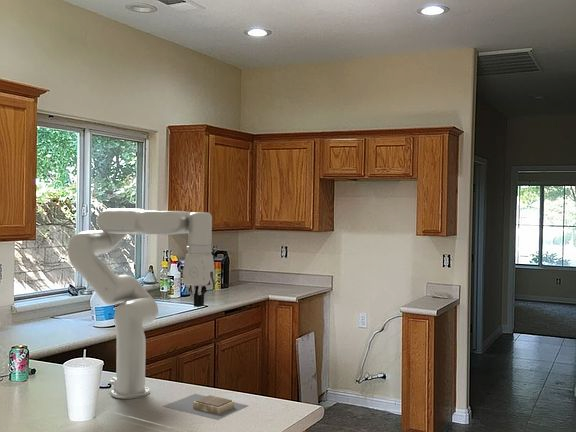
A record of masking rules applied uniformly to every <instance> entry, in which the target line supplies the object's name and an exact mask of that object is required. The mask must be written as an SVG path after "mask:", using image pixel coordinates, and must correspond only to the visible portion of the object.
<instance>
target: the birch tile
mask: <svg viewBox="0 0 576 432" xmlns="http://www.w3.org/2000/svg"><path fill="white" fill-rule="evenodd" d="M205 396H206V395H205ZM234 402H235V400H232V399H228V398H223V397H218V396H215V395H211V394H208V395H207V396H206V397H204V398H201V399H199V400H196V401H194V402H193V408H194V409H198V410H203V411H207V412H211V413H215V414H220V413H222V412H225V411H227V410H229V409H231V408H234Z"/></svg>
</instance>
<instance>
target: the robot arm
mask: <svg viewBox="0 0 576 432" xmlns="http://www.w3.org/2000/svg"><path fill="white" fill-rule="evenodd" d="M96 225H97V226H98V228H99V230H85V231H80V232H77V233H75V234H74V235H73V236H72V237H71V238H70V240H69V241H68V246H67V255H68V260H69V261H70V263H71V265H72V266H73V268H74V269H75V271H77V272H78V273H79V275H80V276H81V277H82V278H83V279H84V280H85V282H87V284H88V285H89V286H90V288H91V289H92V290H93V291H94V292H95V293H96V295H97V296H98V297H99V298H100V299H101V301H102V302H104V304H107V305H110V306H111V305H113V306H114V305H117V304H118V306H117V307H116V309H115V311H114V314H113V320H114V326H115V334H116V335H115V336H116V371H115V373H116V374H115V377H114V376H113V377H112V379H110V380H109V382H108V383H109V384H110V385H113V388H112V390H111V391H110V394H111V396H112V397H113V398H116V399H122V400H129V399H130V400H131V399H133V400H134V399H139V398H140V399H141V398H143V397H147V396H148V395H149V394H150V391H151V390H150V388H149V387H148V386H146V351H147V350H146V346H147V345H146V343H147V341H146V335H145V332H144V328H143V326H146V325H149V324H150V323H153V322H154V321H155V320H156V319H157V317H158V315H159V307H158V304H157V302H156V301H155V299H154V298H153V296H151V294H150V293H149V292H148V290H146V289H145V288H144V286H143V285H142V284H141V283H140V281H138V279H136V278H135V277H134V276H131V275H129V274H120V275H118V274H115V273H114V272H113V271H112V269H110V267H108V265H107V264H106V262H103V261H102V260H101V259H100V258H98V257H97V256H98V255H104V254H108V253H109V252H111V251H112V250H113V249H115V247H117V245H118V244H119V243H121V241H122V240H123V239H124V238H125V237H127V235H165V236H166V235H167V236H168V235H181V234H182V235H183V234H187V236H188V238H187V239H188V240H187V244H188V245H186V247H185V248H186V250H187V253H186V254H185V256H184V261H183V269H182V283H183V284H184V286H185V287H186V288H187V289H190V290H191V294H192V295H193V307H194V308H201V307H204V306H205V305H204V304H205V294H207V292H208V291H210V290H213V289H214V284H215V275H216V274H215V273H216V272H215V261H214V256H213V254H212V241H213V239H212V236H213V235H212V234H213V233H212V232H213V231H212V230H213V227H212V226H213V217H212V214H211V213H210V212H202V211H197V212H196V211H195V212H191V211H186V210H185V211H184V210H161V211H159V210H145V209H143V208H107V209H104V210H102V211H101V212H100V213H98V215H97V218H96ZM96 255H97V256H96Z"/></svg>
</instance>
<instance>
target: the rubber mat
mask: <svg viewBox="0 0 576 432" xmlns="http://www.w3.org/2000/svg"><path fill="white" fill-rule="evenodd" d="M204 397H206V395H203V394H198V393H192V394H190V395H188V396H186V397H182V398H180V399H177V400H176V401H172V402H170V403H167V404H165V405H163V406H162V407H164V408H168V409H172V410H176V411H179V412H184V413H189V414H192V415H196V416H200V417H205V418H208V419H213V420H215V421H218V420H221V419H223V418H226V417H228V416H230V415H233V414H234V413H236V412H239V411H241V410H242V409H246V408H247V407H249V405H248V404H247V405H246V404H243V403H239V402H235V401H234V408H231V409H229V410H227V411H225V412H222V413H220V414H215V413H211V412H207V411H203V410H198V409H194V408H193V402H194V401H196V400H199V399H201V398H204Z"/></svg>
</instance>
